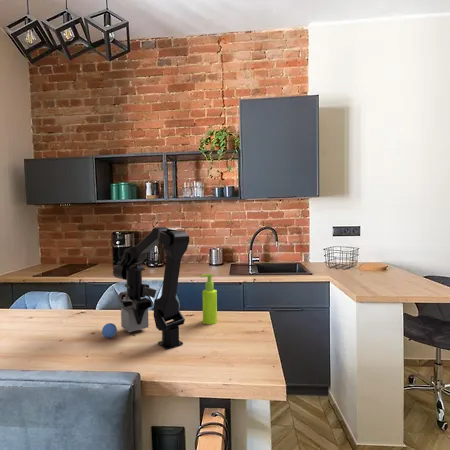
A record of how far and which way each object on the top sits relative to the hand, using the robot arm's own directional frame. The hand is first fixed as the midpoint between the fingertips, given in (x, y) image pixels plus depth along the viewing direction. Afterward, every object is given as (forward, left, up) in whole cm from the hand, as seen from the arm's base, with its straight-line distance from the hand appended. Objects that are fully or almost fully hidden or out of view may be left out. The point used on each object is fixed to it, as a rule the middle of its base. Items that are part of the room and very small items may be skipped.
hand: (134, 321), depth 117 cm
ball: (0, +10, -1) cm, 10 cm away
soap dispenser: (-11, -27, -4) cm, 30 cm away
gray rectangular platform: (0, 0, -2) cm, 2 cm away
